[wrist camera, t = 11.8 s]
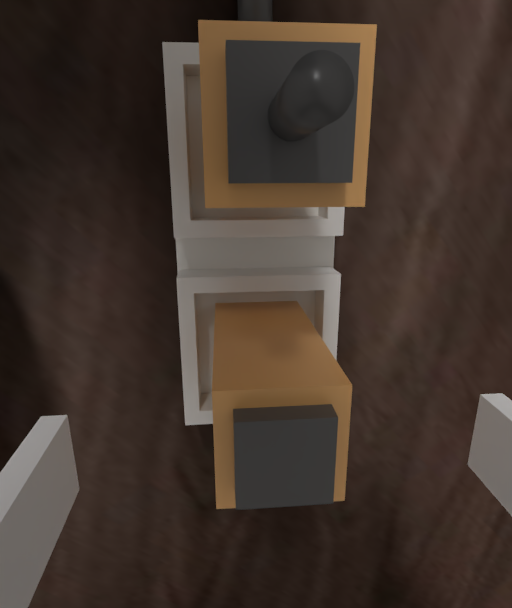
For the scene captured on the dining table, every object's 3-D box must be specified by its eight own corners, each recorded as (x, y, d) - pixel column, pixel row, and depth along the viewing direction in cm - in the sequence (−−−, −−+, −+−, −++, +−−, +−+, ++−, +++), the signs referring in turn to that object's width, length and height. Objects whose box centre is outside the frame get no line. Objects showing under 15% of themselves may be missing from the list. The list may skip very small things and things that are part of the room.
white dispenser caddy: (322, 397, 26) (447, 657, 12) (187, 404, 25) (144, 688, 11) (344, -94, 19) (723, -935, 5) (157, -103, 18) (-62, -1111, 4)
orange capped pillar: (217, 378, 24) (216, 527, 13) (215, 303, 23) (211, 404, 12) (295, 374, 24) (351, 518, 14) (297, 300, 23) (360, 397, 13)
